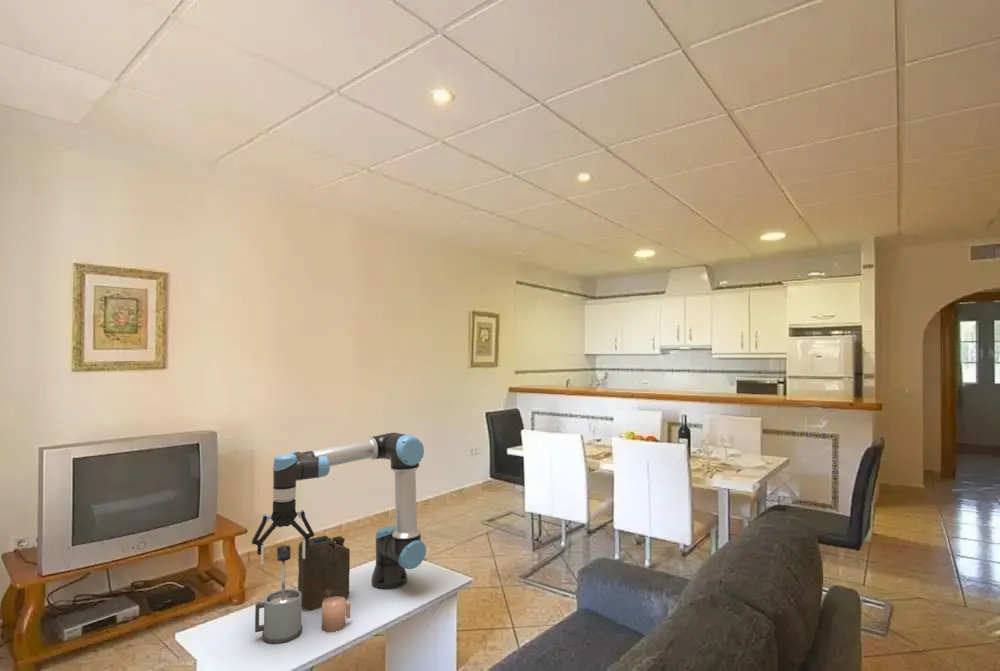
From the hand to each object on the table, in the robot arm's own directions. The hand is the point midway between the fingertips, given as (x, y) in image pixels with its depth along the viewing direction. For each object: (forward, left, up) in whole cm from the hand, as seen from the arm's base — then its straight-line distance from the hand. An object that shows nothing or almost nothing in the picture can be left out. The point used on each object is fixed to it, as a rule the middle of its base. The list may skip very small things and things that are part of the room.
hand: (283, 560), depth 187 cm
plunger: (0, 0, -13) cm, 13 cm away
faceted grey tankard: (+1, 0, -26) cm, 26 cm away
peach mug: (-17, +2, -26) cm, 31 cm away
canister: (-16, -20, -26) cm, 36 cm away
